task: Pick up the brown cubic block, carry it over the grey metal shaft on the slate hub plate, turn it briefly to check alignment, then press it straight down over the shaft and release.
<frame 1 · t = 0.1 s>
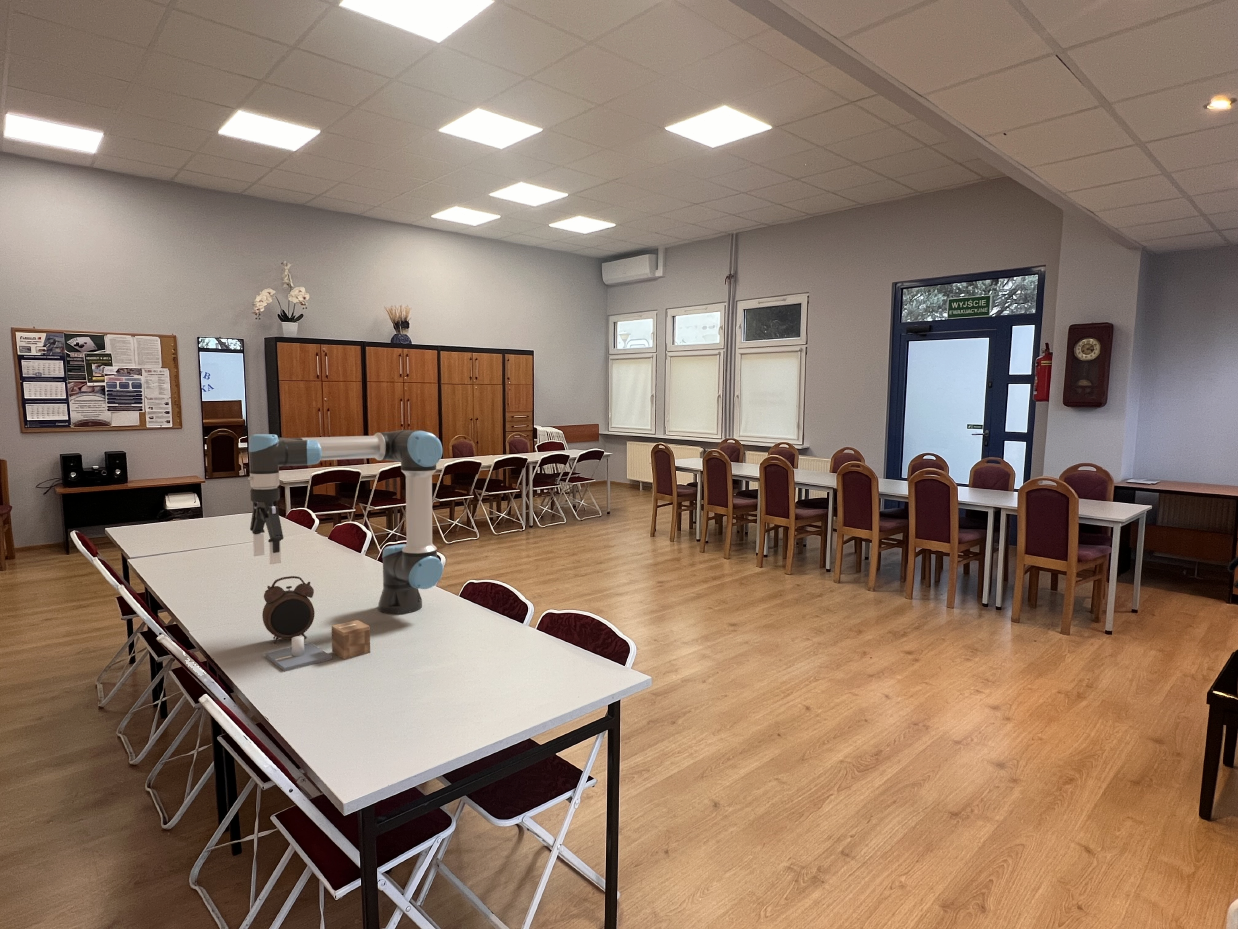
hand: (267, 559, 199), 28 cm above the table, fingers open, 13 cm apart
hub plate: (298, 658, 198), on the table
brown cubic block: (351, 652, 203), on the table
alarm clock: (290, 640, 212), on the table
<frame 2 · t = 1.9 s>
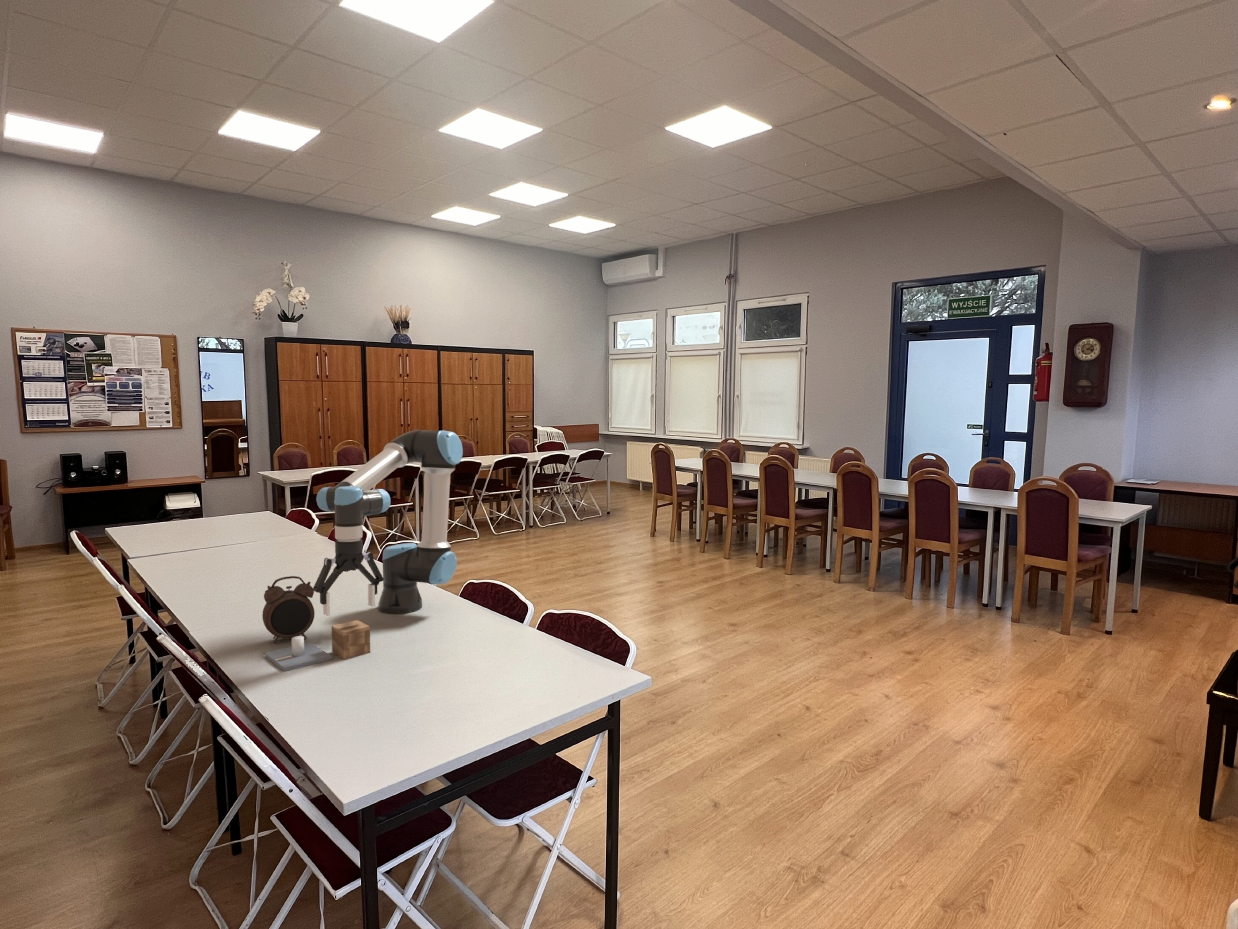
hand: (349, 610, 201), 13 cm above the table, fingers open, 13 cm apart
nothing on the table moved.
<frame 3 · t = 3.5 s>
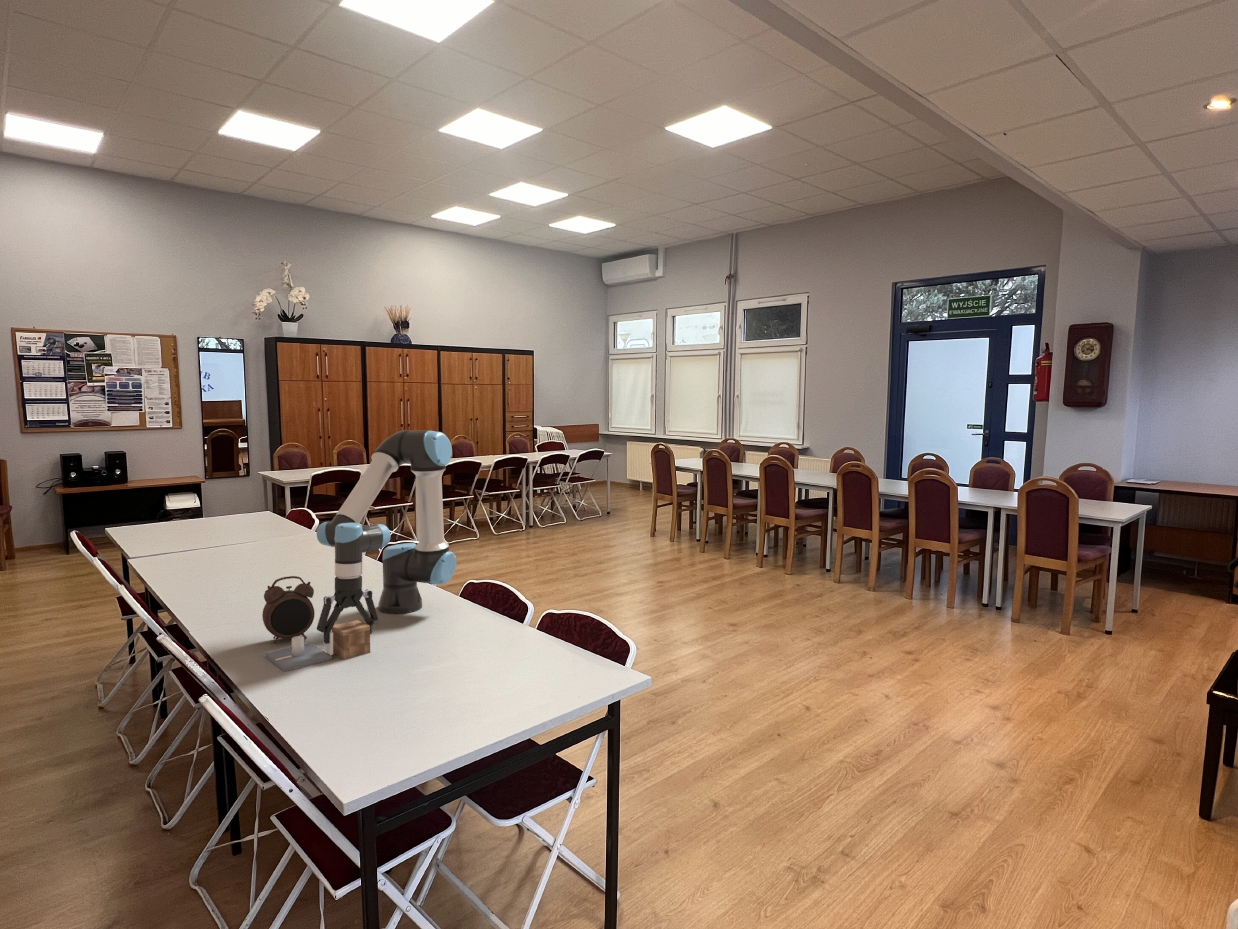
hand: (348, 649, 202), 1 cm above the table, fingers open, 10 cm apart
nothing on the table moved.
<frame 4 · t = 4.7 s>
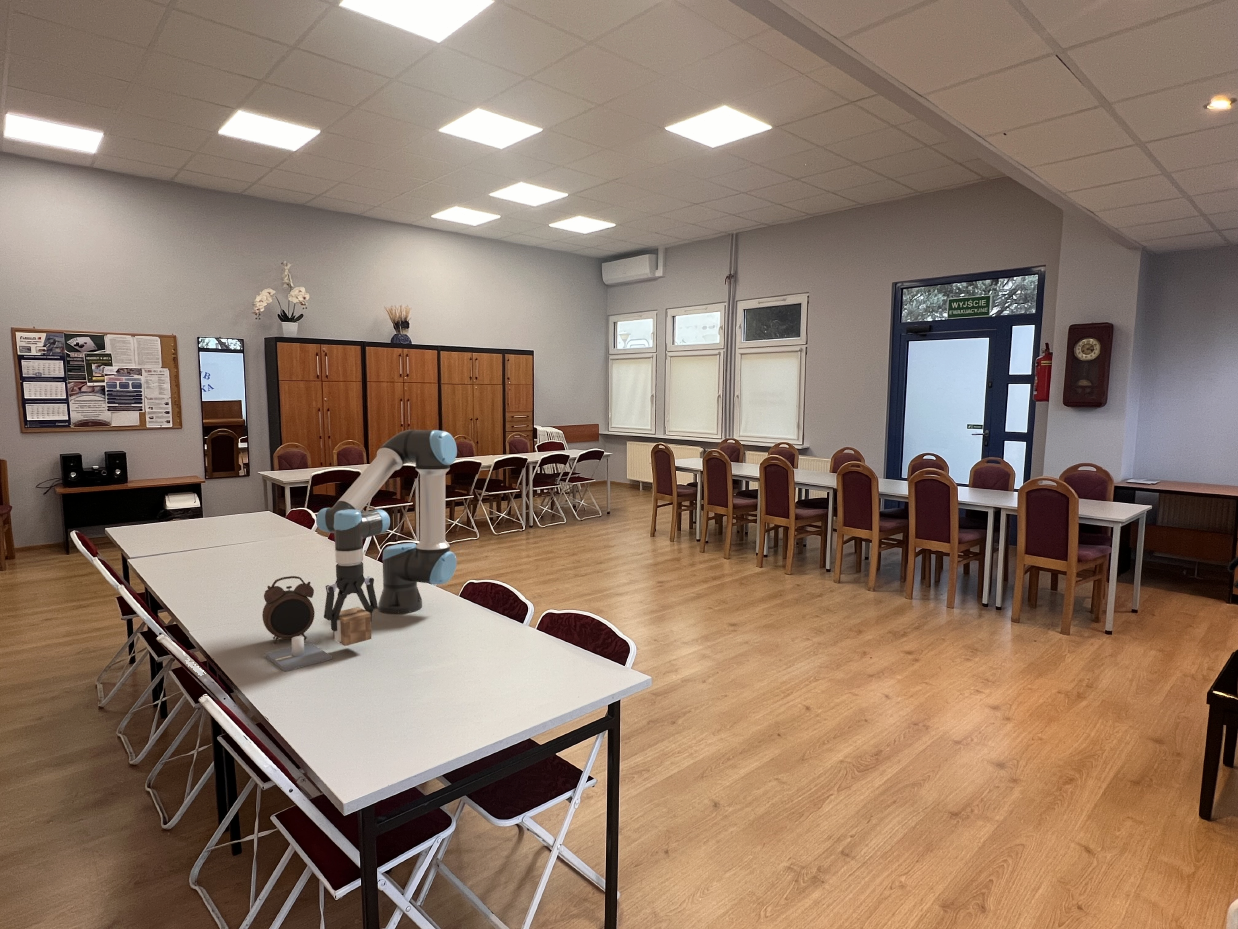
hand: (352, 636, 203), 4 cm above the table, fingers closed on brown cubic block, 8 cm apart
brown cubic block: (352, 638, 203), point 4 cm above the table, touching gripper
everything else where it was.
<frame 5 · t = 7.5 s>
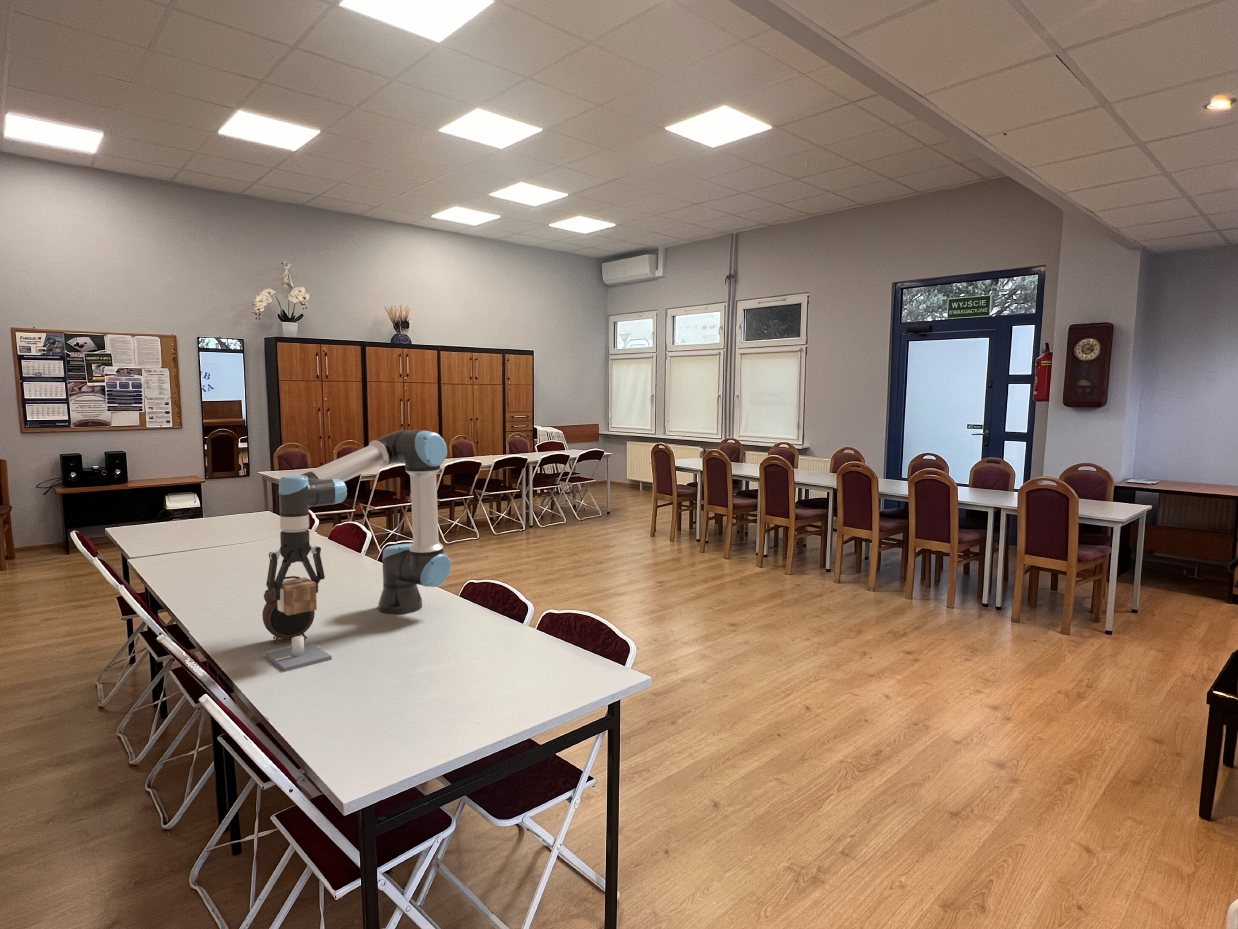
hand: (296, 607, 196), 15 cm above the table, fingers closed on brown cubic block, 8 cm apart
brown cubic block: (296, 609, 196), point 14 cm above the table, touching gripper
everything else where it was.
when the fingers open (3 cm above the table, at t = 10.5 s): brown cubic block stays where it is, resting on hub plate.
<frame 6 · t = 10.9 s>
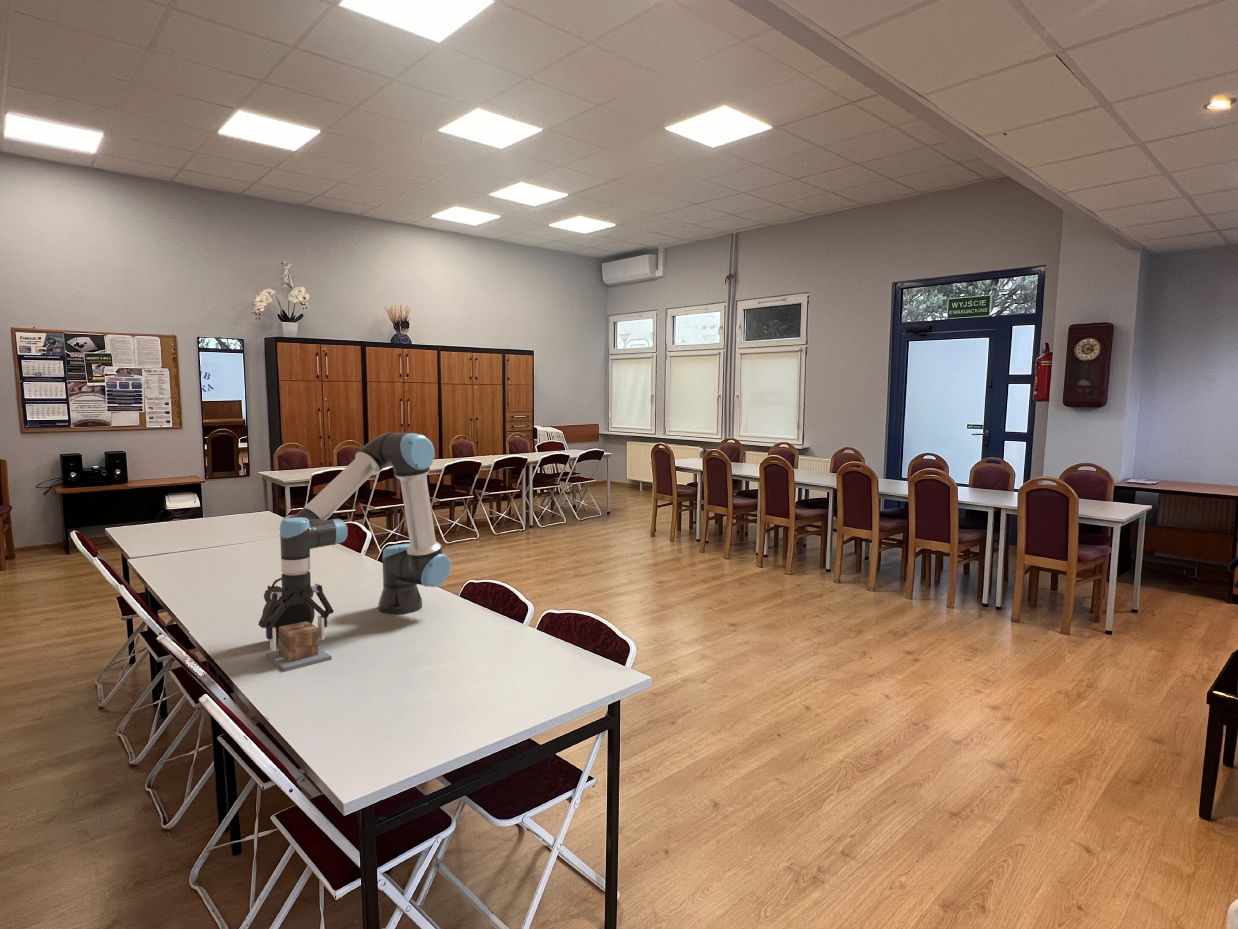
hand: (297, 644, 197), 4 cm above the table, fingers open, 13 cm apart
brown cubic block: (298, 654, 198), point 1 cm above the table, touching hub plate
everything else where it was.
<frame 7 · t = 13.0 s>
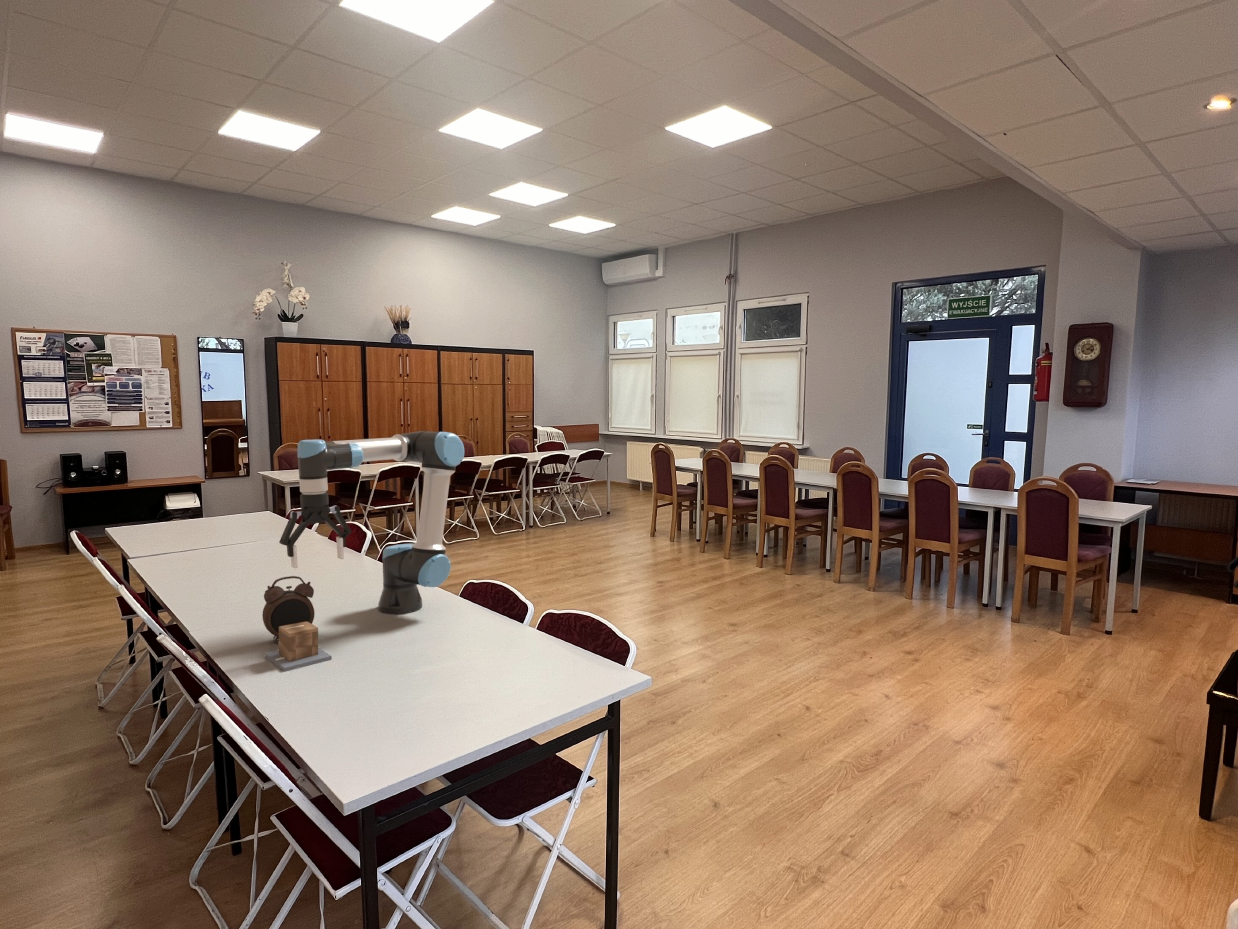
hand: (318, 562, 202), 26 cm above the table, fingers open, 13 cm apart
nothing on the table moved.
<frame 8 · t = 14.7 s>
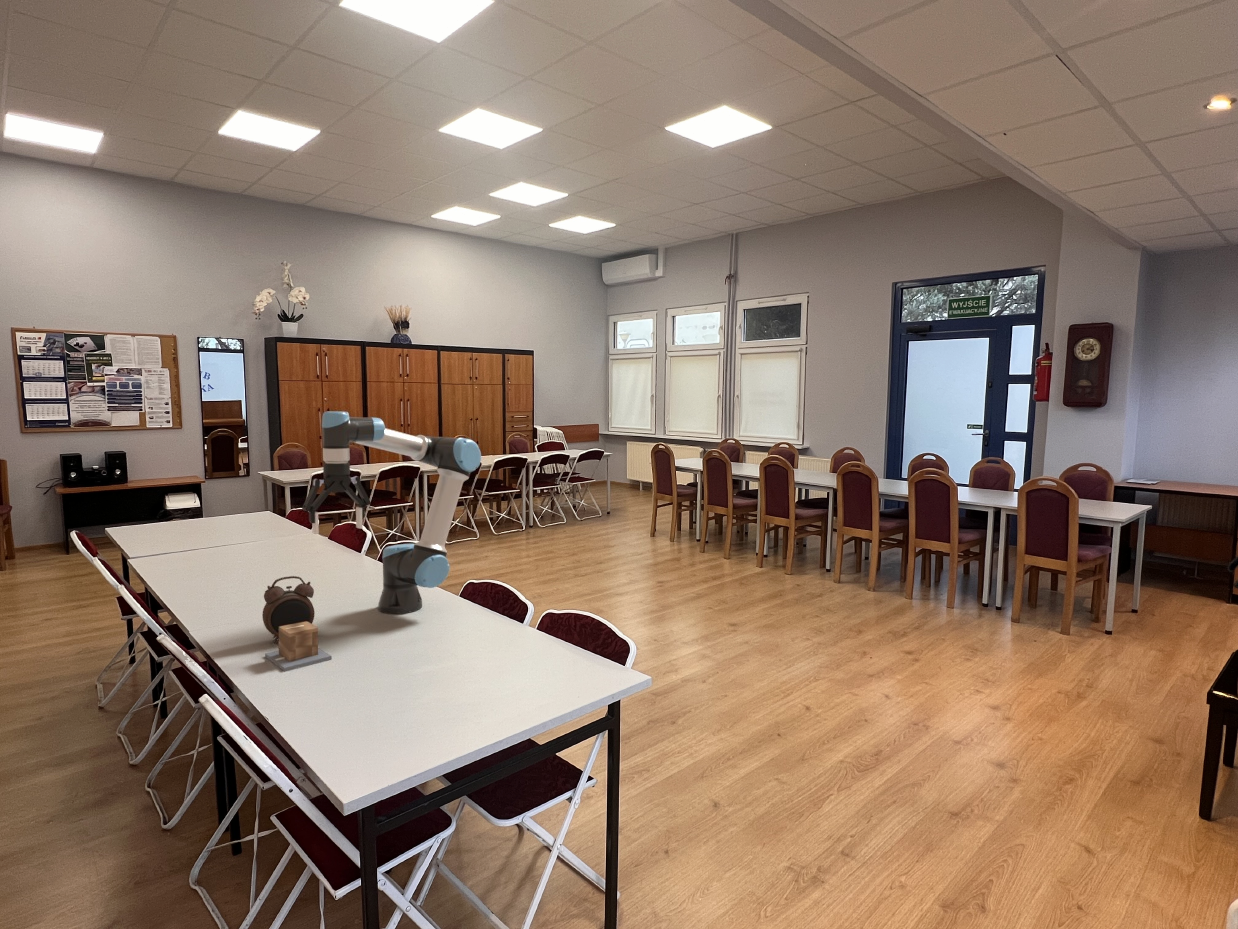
hand: (338, 530, 209), 35 cm above the table, fingers open, 13 cm apart
nothing on the table moved.
at the end: brown cubic block 0.1 cm off-centre on the hub plate, point 1.1 cm above the hub plate's base; brown cubic block tilted 1°; the gripper is holding nothing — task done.
